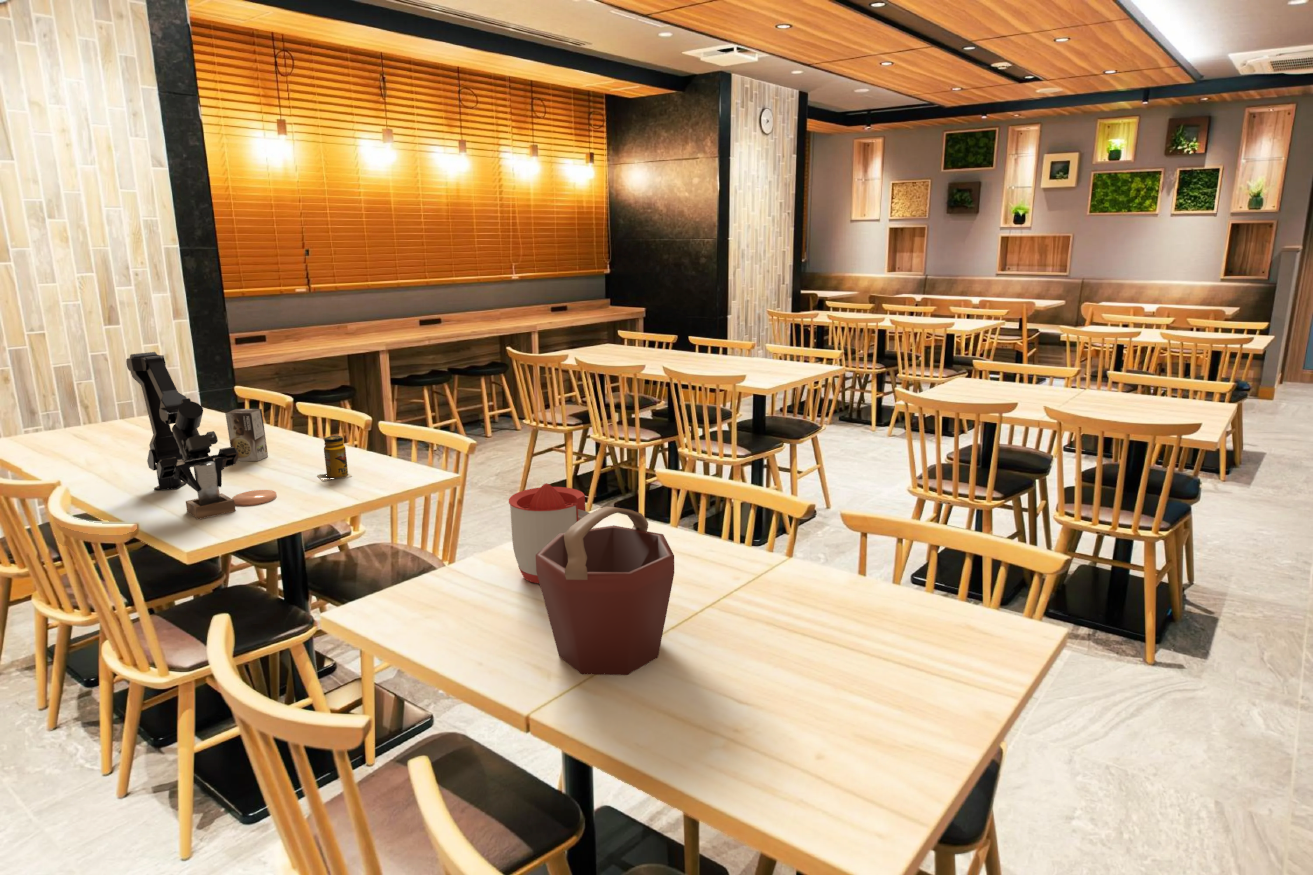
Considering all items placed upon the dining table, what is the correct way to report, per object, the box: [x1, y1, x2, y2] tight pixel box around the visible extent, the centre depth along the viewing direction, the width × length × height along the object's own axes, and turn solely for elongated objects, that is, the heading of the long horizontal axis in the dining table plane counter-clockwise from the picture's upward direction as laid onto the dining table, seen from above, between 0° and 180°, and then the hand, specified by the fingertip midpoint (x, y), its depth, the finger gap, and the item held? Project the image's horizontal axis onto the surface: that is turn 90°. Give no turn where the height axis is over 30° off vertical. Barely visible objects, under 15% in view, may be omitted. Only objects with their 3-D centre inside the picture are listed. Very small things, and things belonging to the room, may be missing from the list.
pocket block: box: [185, 493, 237, 520], centre depth 218 cm, size 9×9×3 cm
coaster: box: [231, 489, 277, 507], centre depth 228 cm, size 11×11×1 cm
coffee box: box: [225, 408, 269, 462], centre depth 269 cm, size 9×6×16 cm
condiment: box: [317, 435, 352, 482], centre depth 248 cm, size 7×8×12 cm
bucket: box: [536, 505, 675, 676], centre depth 139 cm, size 24×22×25 cm
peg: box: [193, 461, 221, 506], centre depth 217 cm, size 5×5×13 cm
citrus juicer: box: [508, 482, 590, 584], centre depth 171 cm, size 16×17×20 cm
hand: (209, 488), depth 216 cm, fingers closed on peg, 5 cm apart
